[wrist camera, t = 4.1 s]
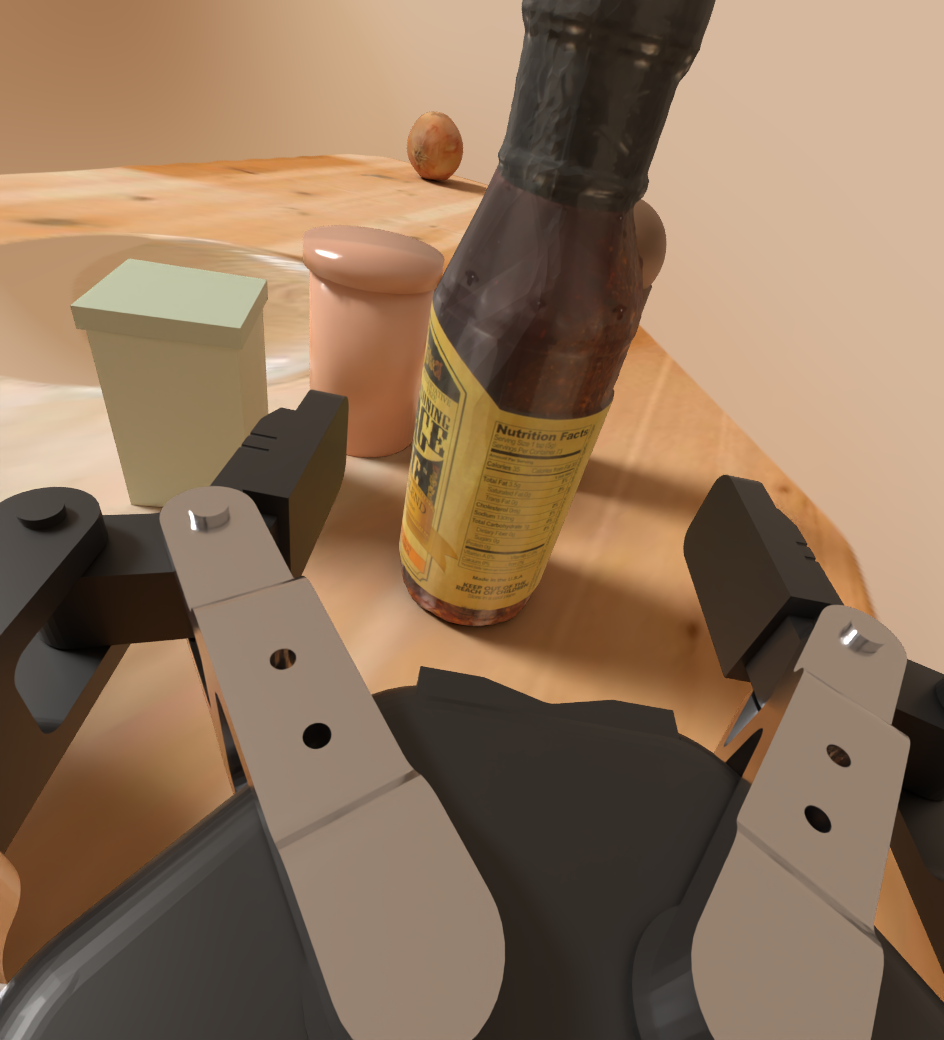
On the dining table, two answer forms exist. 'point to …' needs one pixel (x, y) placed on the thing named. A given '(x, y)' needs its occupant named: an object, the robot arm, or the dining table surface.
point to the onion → (435, 146)
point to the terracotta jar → (370, 328)
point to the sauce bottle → (539, 303)
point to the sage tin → (176, 370)
